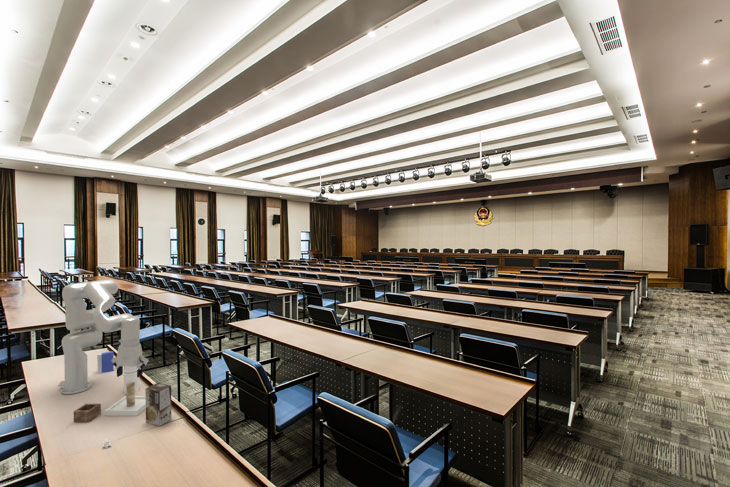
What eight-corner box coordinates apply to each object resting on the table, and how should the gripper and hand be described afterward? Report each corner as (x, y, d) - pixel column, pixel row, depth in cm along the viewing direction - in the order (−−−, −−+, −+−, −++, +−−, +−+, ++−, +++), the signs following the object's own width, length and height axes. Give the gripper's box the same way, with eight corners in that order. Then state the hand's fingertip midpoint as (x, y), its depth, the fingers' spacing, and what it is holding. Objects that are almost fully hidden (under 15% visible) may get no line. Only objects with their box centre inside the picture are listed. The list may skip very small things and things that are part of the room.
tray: (104, 415, 159) (104, 410, 159) (125, 400, 173) (125, 396, 173) (137, 415, 160) (137, 410, 160) (154, 400, 174) (154, 396, 174)
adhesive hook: (110, 445, 139) (110, 437, 139) (112, 447, 137) (112, 440, 137) (101, 448, 136) (101, 441, 136) (103, 451, 135) (103, 443, 135)
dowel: (124, 406, 165) (124, 384, 164) (129, 403, 168) (129, 381, 168) (131, 406, 165) (131, 384, 164) (136, 403, 168) (136, 381, 168)
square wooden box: (73, 422, 154) (73, 411, 153) (86, 413, 161) (85, 403, 160) (89, 422, 154) (89, 411, 154) (100, 413, 161) (100, 403, 161)
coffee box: (172, 419, 158) (172, 385, 157) (159, 426, 152) (159, 391, 151) (157, 415, 161) (157, 382, 160) (145, 422, 155) (144, 388, 154)
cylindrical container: (142, 387, 188) (142, 343, 188) (132, 393, 181) (132, 347, 180) (131, 386, 189) (130, 342, 188) (120, 392, 182) (120, 346, 181)
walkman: (113, 369, 211) (113, 350, 210) (113, 370, 209) (113, 351, 208) (97, 372, 206) (97, 353, 206) (97, 374, 204) (97, 354, 204)
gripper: (106, 344, 161) (106, 378, 162) (143, 345, 162) (142, 380, 163) (117, 338, 169) (117, 372, 170) (152, 340, 169) (152, 373, 170)
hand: (129, 375), depth 166 cm, fingers open, 9 cm apart
